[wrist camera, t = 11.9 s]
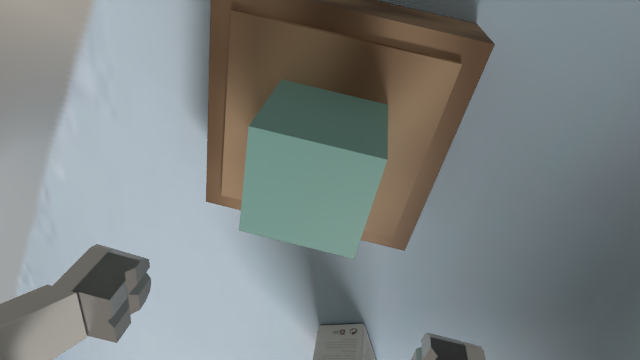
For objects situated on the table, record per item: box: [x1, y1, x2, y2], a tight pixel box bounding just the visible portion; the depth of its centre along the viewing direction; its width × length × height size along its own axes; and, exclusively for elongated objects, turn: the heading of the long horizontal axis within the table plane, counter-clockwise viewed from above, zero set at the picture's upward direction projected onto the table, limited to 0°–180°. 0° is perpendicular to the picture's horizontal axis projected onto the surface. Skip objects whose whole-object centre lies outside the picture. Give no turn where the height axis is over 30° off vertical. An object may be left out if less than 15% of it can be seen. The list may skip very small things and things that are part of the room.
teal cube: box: [239, 79, 388, 259], centre depth 17 cm, size 5×5×5 cm
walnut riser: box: [206, 0, 495, 251], centre depth 21 cm, size 12×12×4 cm
